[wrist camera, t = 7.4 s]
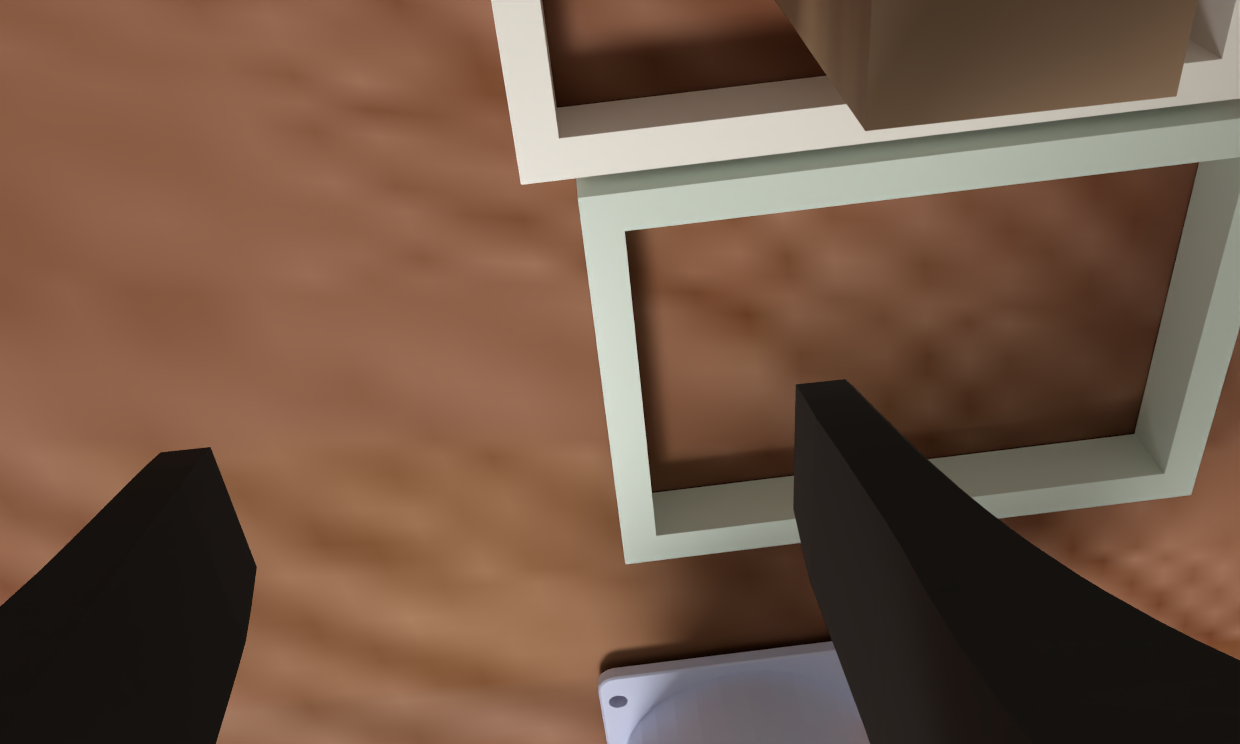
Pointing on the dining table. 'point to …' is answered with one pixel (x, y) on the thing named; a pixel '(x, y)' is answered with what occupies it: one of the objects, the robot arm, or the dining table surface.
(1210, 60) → the tray
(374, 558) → the dining table surface
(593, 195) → the pale green rectangular frame
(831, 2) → the block
